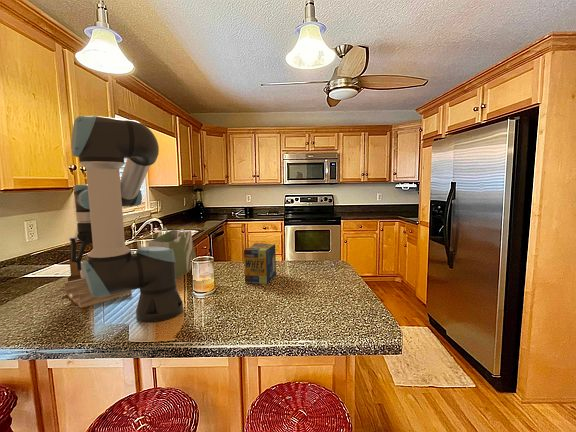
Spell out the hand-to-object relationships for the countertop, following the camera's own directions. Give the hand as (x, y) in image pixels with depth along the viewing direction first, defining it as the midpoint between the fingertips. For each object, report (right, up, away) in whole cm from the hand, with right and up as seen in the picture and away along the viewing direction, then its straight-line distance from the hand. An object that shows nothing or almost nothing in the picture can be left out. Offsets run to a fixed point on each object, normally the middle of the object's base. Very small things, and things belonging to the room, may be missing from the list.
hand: (92, 275), depth 130 cm
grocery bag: (+25, -4, +27) cm, 37 cm away
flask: (0, -1, 0) cm, 1 cm away
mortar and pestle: (-18, -6, +16) cm, 25 cm away
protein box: (+71, -4, +12) cm, 72 cm away
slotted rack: (+4, -7, -3) cm, 9 cm away
